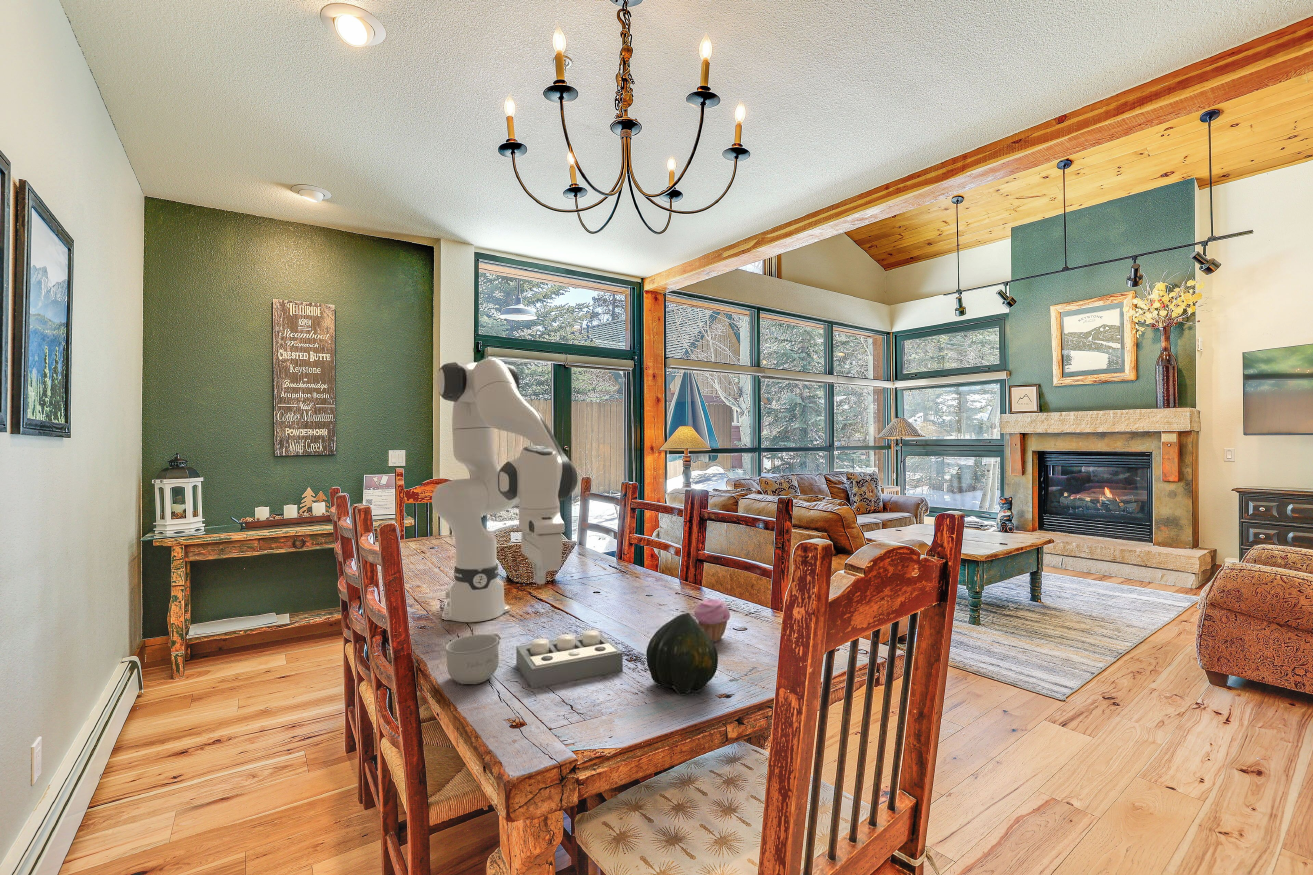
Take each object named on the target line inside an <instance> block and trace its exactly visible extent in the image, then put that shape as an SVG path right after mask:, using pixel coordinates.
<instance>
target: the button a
mask: <svg viewBox="0 0 1313 875" xmlns="http://www.w3.org/2000/svg"><path fill="white" fill-rule="evenodd" d="M549 641H550V640H549V639H547V638H535V639H532V640H531V641H530V643H529V644H530V655H531V657H532V656H538V655H544V654H549Z"/></svg>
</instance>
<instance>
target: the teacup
mask: <svg viewBox="0 0 1313 875" xmlns="http://www.w3.org/2000/svg"><path fill="white" fill-rule="evenodd" d="M500 642H501V641H500V634H498V632H495V631H492V632H489V633H488V634H486V633H478V634H470V635H465V636H461V637H459V638H456V639H454V640H451V641H449V642H448V643H447V644H445V648H444V649H445V653H446V654H445V656H446V667H447V673H448V675H449V677H450V678H451V679H452V680H453V681H455V682H456V683H458V684H460V683H461V684H460V685H463V684H473V685H478V684H480V683H483V682H486V681H487V680H489V679H490V678H491V677H492V676H493V674H494V673H496V671H497V670H498V667H499V663H500V662H499V661H500V658H499V656H500V653H499V652H500V651H499V645H500Z"/></svg>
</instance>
